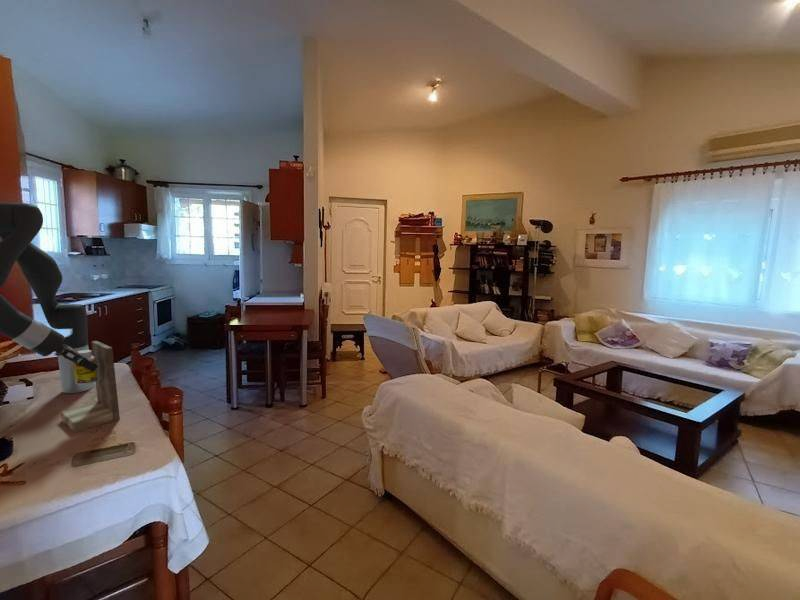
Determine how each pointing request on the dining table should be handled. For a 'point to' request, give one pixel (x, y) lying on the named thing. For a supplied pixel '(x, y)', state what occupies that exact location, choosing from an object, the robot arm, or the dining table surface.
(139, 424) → the dining table surface
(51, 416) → the dining table surface
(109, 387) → the wooden bookend
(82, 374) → the supplement bottle
